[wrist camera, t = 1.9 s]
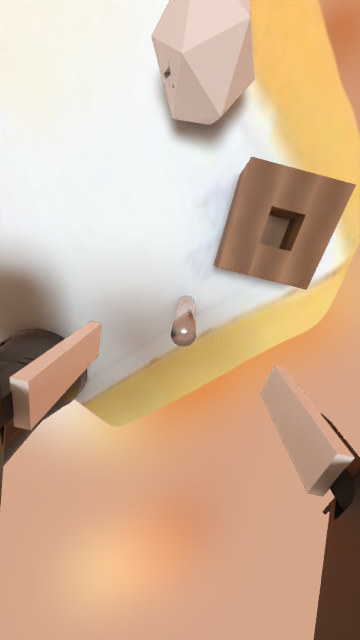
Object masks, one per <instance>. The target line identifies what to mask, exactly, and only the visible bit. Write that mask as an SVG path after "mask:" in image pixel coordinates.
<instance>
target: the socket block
mask: <svg viewBox="0 0 360 640" xmlns="http://www.w3.org/2000/svg"><path fill="white" fill-rule="evenodd" d="M355 186H356V185H355V184H351V183H347V182H344V181H340V180H336V179H333V178H329V177H325V176H321V175H318V174H314V173H310V172H307V171H303V170H299V169H295V168H292V167H288V166H284V165H281V164H277V163H273V162H269V161H266V160H262V159H258V158H255V157H251V159H250V160H249V162H248V163H247V165H246V166H245V168H244V169H243V171H242V172H241V174H240V176H239V179H238V183H237V186H236V190H235V193H234V197H233V200H232V204H231V207H230V211H229V214H228V218H227V221H226V225H225V228H224V232H223V235H222V239H221V242H220V246H219V249H218V252H217V256H216V259H215V263H214V265H215V266H217V267H219V268H222V269H226V270H230V271H234V272H238V273H242V274H246V275H250V276H254V277H258V278H262V279H266V280H270V281H274V282H278V283H282V284H286V285H290V286H294V287H298V288H302V289H306V290H307V288H308V285H309V283H310V281H311V279H312V277H313V275H314V273H315V271H316V268H317V266H318V264H319V262H320V260H321V258H322V256H323V254H324V252H325V249H326V247H327V245H328V243H329V241H330V239H331V237H332V235H333V232H334V230H335V228H336V226H337V224H338V222H339V220H340V218H341V216H342V213H343V211H344V209H345V207H346V205H347V203H348V201H349V199H350V196H351V194H352V192H353V190H354V188H355Z"/></svg>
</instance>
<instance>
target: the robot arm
mask: <svg viewBox="0 0 360 640" xmlns="http://www.w3.org/2000/svg"><path fill="white" fill-rule="evenodd" d="M100 332H101V323H98V322H94V321H90V322H89V323H87V324H86V325H84V326H83V327H82V328H80V329H79V330H77V331H76V332H74V333H73V334H71V335H70V336H69V337H67V338H66V339H63V338H62V337H60V336H58V335H56V334H54V333H51V332H48V331H44V330H36V329H34V330H25V331H22V332H19V333H17V334H15V335H13V336H11V337H9V338H7V339H5V340H4V341H3V342H1V343H0V504H1V489H2V475H3V466H4V465H5V463H6V462H7V461H8V460H9V459H10V458H11V456H12V455H13V454H14V452H16V451H17V449H18V448H19V447H20V446H21V445H22V444H23V442H24V441H25V440H26V439H27V438H28V436H29V435H30V434H31V433H32V432H33V431H34V429H35V428H36V427H37V426H38V425H39V424H40V423H41V422H42V421H43V420H44V419H46V418H47V417H49V416H50V415H52V414H53V413H55V412H56V411H57V410H59V409H61V408H62V407H63V406H65V405H67V404H69V403H70V402H71V401H72V400H74V399H75V397H76V396H77V395H78V394H79V392H80V391H81V390H82V388H83V387H84V385H85V382H86V368H87V367H88V366H89V365H90V364H91V363H92V362H93V361H94V360H95V358H96V357H97V356H98V353H99V343H100ZM261 396H262V398H263V400H264V402H265V405H266V406H267V409H268V411H269V413H270V415H271V417H272V419H273V421H274V423H275V426H276V428H277V430H278V432H279V434H280V436H281V438H282V440H283V443H284V445H285V447H286V449H287V451H288V453H289V455H290V457H291V459H292V462H293V464H294V466H295V468H296V470H297V472H298V474H299V476H300V478H301V481H302V483H303V485H304V487H305V489H306V491H307V493H309V494H314V495H318V496H324V495H325V493H326V492H327V491H328V490H329V489H331V491H332V493H333V495H334V496H335V498H334V499H333V500H332V501H331V502H330V503H329V505H328V506H327V507H326V508H325V509H324V511H323V513H324V514H327V512H330V514H329V523H328V530H327V538H326V546H325V555H324V562H323V570H322V578H321V586H320V594H319V602H318V610H317V618H316V626H315V634H314V640H360V457H359V456H358V455H357V453H356V452H355V451H354V450H353V448H352V447H351V446H350V445H349V444H348V442H347V441H346V440H345V439H343V436H342V435H341V434H340V432H338V430H337V429H336V427H335V426H334V425H333V424H332V423H331V421H329V420H328V419H327V418H326V417H325V416H324V415H323V414H321V413H319V411H318V410H317V409H316V407H315V406H314V405H313V404H312V402H311V401H310V400H309V398H308V397H307V396H306V395H305V393H304V392H303V391H302V390H301V388H300V387H299V386H298V384H297V383H296V382H295V381H294V379H293V378H292V377H291V375H290V374H289V373H288V372H287V370H286V369H285V368H284V367H280V366H276V365H274V367H273V369H272V371H271V373H270V375H269V377H268V379H267V382H266V383H265V385H264V388H263V390H262V392H261Z"/></svg>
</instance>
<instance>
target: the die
mask: <svg viewBox="0 0 360 640" xmlns="http://www.w3.org/2000/svg"><path fill="white" fill-rule="evenodd" d="M151 37H152V41H153V45H154V49H155V53H156V57H157V60H158V64H159V68H160V72H161V76H162V80H163V84H164V88H165V92H166V96H167V100H168V104H169V108H170V112H171V116H172V119H177V120H183V121H189V122H195V123H200V124H206V125H211V124H213V123H214V122H215V121H217V120H218V119H219V118H221V117H222V115H223V114H224V113H225V112H226V111H227V110H228V109H229V108H230V106H231V105H232V104H233V103H234V102H235V101H236V100H237V99H238V97H239V96H240V95H241V94H242V93H243V92H244V91H245V89H246V88H247V87H248V86H249V85H250V84H251V83H252V82H253V80H254V61H253V41H252V22H251V3H250V0H169V2H168V4H167V6H166V8H165V10H164V12H163V14H162V16H161V18H160V20H159V22H158V24H157V26H156V28H155V30H154V32H153V34H152V36H151Z"/></svg>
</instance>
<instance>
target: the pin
mask: <svg viewBox="0 0 360 640" xmlns="http://www.w3.org/2000/svg"><path fill="white" fill-rule="evenodd" d="M171 338H172V340H173V342H174V343H175V344H177V345H179V346H188V345H190V344H192V343H193V342H194V340H195V338H196V329H195V312H194V300H193V299H192V298H191V297H190V296H182V297H181V298H180V299H179V302H178V306H177V310H176V315H175V319H174V323H173V327H172V331H171Z"/></svg>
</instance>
